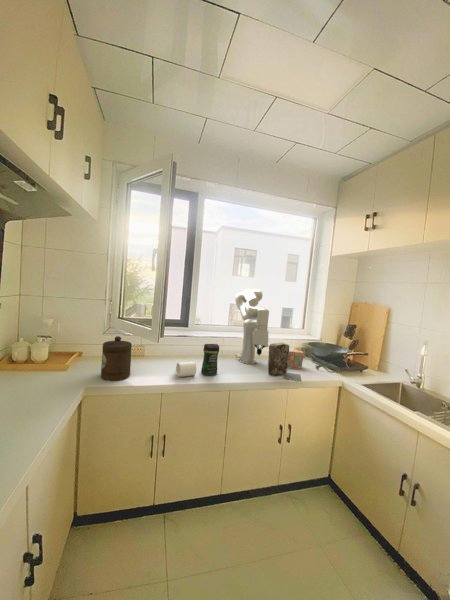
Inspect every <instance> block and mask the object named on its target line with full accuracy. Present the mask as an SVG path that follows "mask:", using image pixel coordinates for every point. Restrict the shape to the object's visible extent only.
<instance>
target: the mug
mask: <svg viewBox="0 0 450 600" xmlns="http://www.w3.org/2000/svg"><path fill="white" fill-rule="evenodd" d="M175 371H176V372H175V374H176V376H177V378H181V377H191V376H192V377H193V376H195V375H197V364H196V362H195V361H185V362H184V361H183V362H182V361H181V362H177V363H176V366H175Z"/></svg>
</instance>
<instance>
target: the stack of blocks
mask: <svg viewBox="0 0 450 600" xmlns="http://www.w3.org/2000/svg"><path fill="white" fill-rule="evenodd" d="M303 361H304V352H303V350H297V349H291V348H289V353H288V359H287V369H288V368H289V369H296V370H302V369H303Z"/></svg>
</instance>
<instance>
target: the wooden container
mask: <svg viewBox="0 0 450 600" xmlns="http://www.w3.org/2000/svg"><path fill="white" fill-rule="evenodd" d="M101 352H102V354H101V368H100V369H101V370H100V378H101V379H102V380H104V381H108V380H109V381H110V382H111V381H112V382H116V381H122V380H123V381H124V380H126V379H128V378H129V377H130V376H131V364H132V363H131V362H132V342H131V341H127V340H122V337H121V336H119V335H117V336H115V337H114V340H110V341H105V342H103V343H102V351H101ZM109 381H108V382H109Z"/></svg>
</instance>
